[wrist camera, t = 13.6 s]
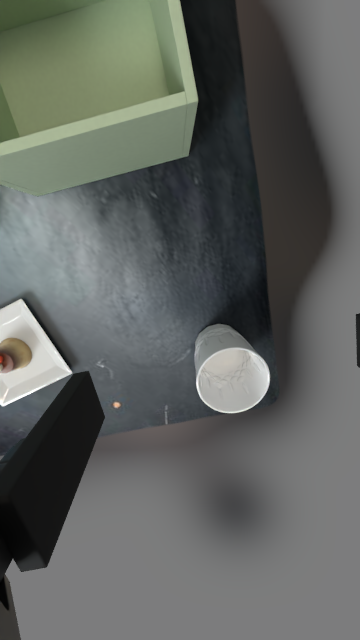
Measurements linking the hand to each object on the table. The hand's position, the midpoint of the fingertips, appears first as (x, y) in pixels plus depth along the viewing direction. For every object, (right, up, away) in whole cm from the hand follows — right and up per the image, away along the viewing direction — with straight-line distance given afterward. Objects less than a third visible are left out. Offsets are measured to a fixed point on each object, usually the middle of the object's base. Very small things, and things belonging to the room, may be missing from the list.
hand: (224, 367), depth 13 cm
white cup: (+3, -1, +25) cm, 25 cm away
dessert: (-25, -2, +25) cm, 35 cm away
